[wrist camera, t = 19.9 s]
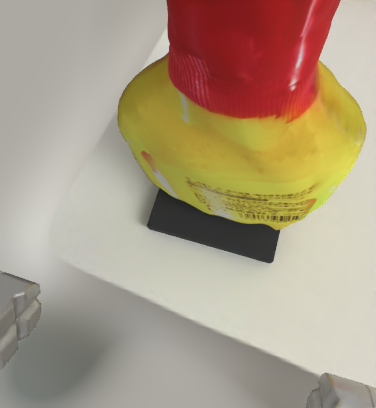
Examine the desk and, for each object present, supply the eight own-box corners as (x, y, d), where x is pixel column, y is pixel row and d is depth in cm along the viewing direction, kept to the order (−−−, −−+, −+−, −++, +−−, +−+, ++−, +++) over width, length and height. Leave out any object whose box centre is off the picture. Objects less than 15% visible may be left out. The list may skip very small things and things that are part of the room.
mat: (148, 229, 25) (146, 226, 24) (184, 123, 27) (183, 116, 26) (270, 263, 24) (273, 261, 23) (295, 150, 26) (299, 144, 25)
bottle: (131, 205, 24) (-133, -176, 5) (158, 128, 26) (37, -380, 7) (298, 250, 23) (819, -33, 4) (314, 166, 24) (728, -332, 5)
